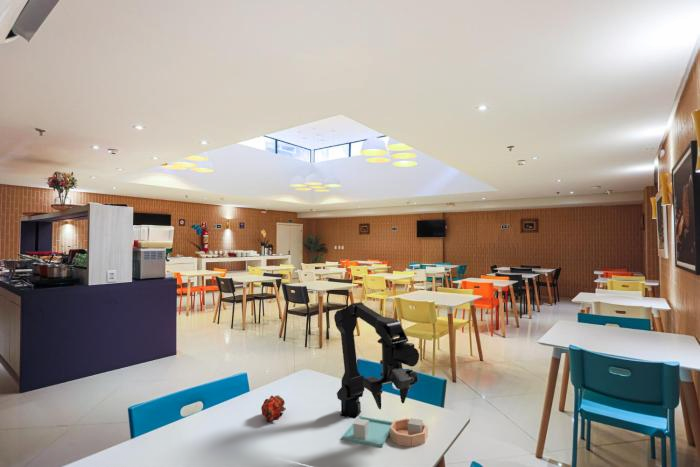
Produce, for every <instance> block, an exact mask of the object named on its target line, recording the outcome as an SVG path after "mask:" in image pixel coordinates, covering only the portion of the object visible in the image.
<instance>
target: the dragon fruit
mask: <svg viewBox="0 0 700 467" xmlns="http://www.w3.org/2000/svg"><path fill="white" fill-rule="evenodd" d="M286 409H287V408H286V407H285V399H283V397H281V396H280V395H275V396H274V395H270V396H269V398H266V399H265V400H263V404H262V405H261V409H260V410H261V414H262V416H263V417H264V418H265V419H266V422H267V423H269V422H270V421H275V419H277V418H278V419H280V418H281V417H282V416H283V414H284V412H285V411H286ZM278 419H277V420H278Z"/></svg>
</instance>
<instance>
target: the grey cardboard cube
mask: <svg viewBox="0 0 700 467" xmlns="http://www.w3.org/2000/svg"><path fill="white" fill-rule="evenodd" d="M352 424H353V431H354V438H357V439H362V440H366V439H367V438H368V437H369V420H365V419H359V418H358V419H357V418H356V419H355V421H354V422H352Z"/></svg>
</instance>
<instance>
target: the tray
mask: <svg viewBox="0 0 700 467" xmlns="http://www.w3.org/2000/svg"><path fill="white" fill-rule="evenodd" d="M357 417H358V418H359V419H365V420H369V437H368V438H367V439H366V440H362V439H357V438H354V431H353V423H352V424H351V425H350V427H349V428H348V429H347V430H346V431H345V432H344V433H343V435H342V436H341V440H343V441H349V442H353V443H358V444H363V445H368V446H373V447H377V448H378V447H379V448H383V446H384V445H385V443H386V442H387V440H388V439H389V438H390V426H391V424H392V423H393V421H392V420H386V419H380V418H379V419H378V418H375V417H367V416H362V415H358V416H357ZM357 417H356V420H357V419H358V418H357Z"/></svg>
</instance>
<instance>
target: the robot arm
mask: <svg viewBox="0 0 700 467" xmlns="http://www.w3.org/2000/svg"><path fill="white" fill-rule="evenodd" d="M358 318H359V319H361V320H362V321H364V322H365V323H367V324H368V325H369V326H371V327H373V328H374V330H375V333H376V334H377V335H378V336H379V337H380V338H379V339H378V340H377V343H378V344H381V359H380V360H379V364H380V365H382V366H381V369H382V370H381V372H379V374H380V375H379V376H380V377H382V378H377V377H375V375H373V376H368V377H365V376H364V375H363V374H362V375H361V373H360V372H359V367H358V361H357V360H358V359H357V352H356V341H355V334H354V332H355V330H356V327H357V323H358V322H357V321H358ZM333 319H334V323H335V327H336V329H337V330H338V332H339V333H340V336H341V337H340V338H341V339H340V340H341V348H342V357H343V359H342V360H343V367H344V368H343V369H344V372H343V376H342V378H341V386H340V388H339V390H338V391H337V392H336V398H337V400H338V401H340V407H341V408H340V409H341V410H340V412H341V413H340V414H339V417H343V418H349V419H357V417H359V416H360V414H361V413H362V410H361V408H362V407H361V405H362V404H361V401H360V398H362V397H363V394H364V391H365V389H366V390H368V391H369V392H370V393H371V395H372V397H373V399H374V401H375V404H376V406H377V408H378V409H379V410H382V394H383V390H382V389H383V385H388V384H392V383H393V385H394V386H395V388H396V389H397V390H399V398H400V402H401V404H404V403H405V402H406V399H407V396H408V392H409V390H410V388H411V387H413V386H414V385H416V383H418V382H419V375H418V374H417V372H416V371H414V370H413V368H412V369H409V368H407V369H403V365H406V366H409V367H410V368H411V367H415V366H416V365H417V364H418V363H419V359H420V353H419V350H418V348H415V344H414V343H410V342H409V338H408V336H407V334H406V332H405V330H404V327H403V326H402V324H401V322H400V321H399V320H398V319H395V318H392V317H386V316H383V315H382V314H379V313H377V312H376V311H375V310H373V309H371V308H370V307H368V306H366V305H365V304H364V303H363V302H360V301H359V302H352V303H350V304H349V305H348V306H346V307H344V308H341V309H337V310H336V312H335V313H334V316H333Z"/></svg>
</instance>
